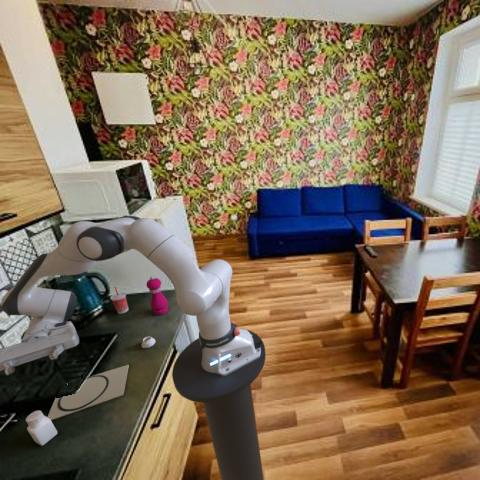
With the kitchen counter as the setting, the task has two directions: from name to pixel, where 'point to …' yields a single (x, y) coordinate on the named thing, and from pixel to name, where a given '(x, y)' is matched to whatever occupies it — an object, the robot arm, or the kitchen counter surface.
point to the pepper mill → (157, 296)
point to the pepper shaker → (40, 427)
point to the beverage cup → (120, 302)
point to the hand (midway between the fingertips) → (31, 365)
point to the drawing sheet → (92, 392)
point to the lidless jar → (148, 342)
